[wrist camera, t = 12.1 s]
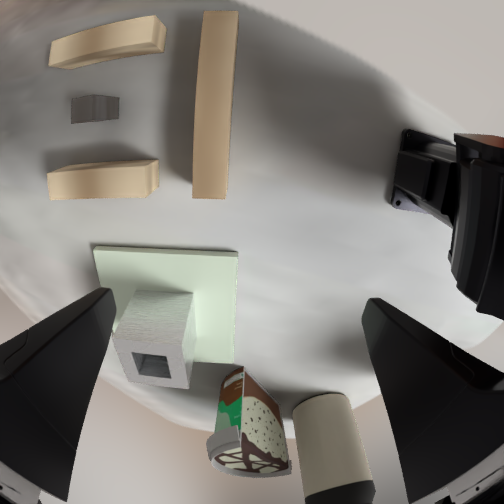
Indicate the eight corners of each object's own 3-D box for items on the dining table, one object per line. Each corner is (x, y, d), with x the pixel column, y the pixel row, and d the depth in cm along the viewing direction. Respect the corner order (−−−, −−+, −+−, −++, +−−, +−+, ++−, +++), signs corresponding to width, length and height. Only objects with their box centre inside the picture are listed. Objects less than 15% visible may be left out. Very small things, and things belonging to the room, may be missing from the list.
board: (238, 252, 21) (238, 256, 21) (233, 357, 27) (233, 363, 26) (97, 245, 21) (93, 250, 20) (122, 347, 26) (120, 352, 25)
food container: (188, 374, 28) (178, 453, 19) (236, 358, 27) (237, 445, 18) (243, 420, 33) (245, 483, 24) (284, 408, 32) (293, 474, 23)
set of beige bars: (238, 26, 14) (238, 4, 10) (227, 188, 19) (224, 204, 16) (72, 47, 13) (44, 39, 9) (70, 189, 18) (42, 204, 15)
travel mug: (311, 388, 30) (339, 524, 14) (359, 393, 32) (395, 508, 16) (281, 418, 33) (295, 534, 17) (327, 422, 35) (350, 524, 19)
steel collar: (193, 292, 22) (181, 345, 17) (196, 337, 24) (189, 389, 19) (136, 289, 22) (111, 337, 16) (145, 332, 24) (128, 381, 19)
